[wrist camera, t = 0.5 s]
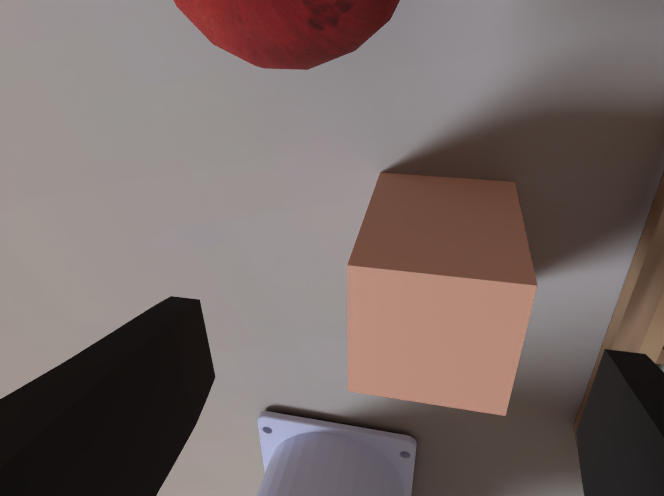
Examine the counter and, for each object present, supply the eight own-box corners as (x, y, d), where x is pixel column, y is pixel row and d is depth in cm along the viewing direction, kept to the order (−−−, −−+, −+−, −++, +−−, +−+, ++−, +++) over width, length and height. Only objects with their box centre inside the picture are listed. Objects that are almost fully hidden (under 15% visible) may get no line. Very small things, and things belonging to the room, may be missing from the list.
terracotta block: (494, 290, 19) (505, 416, 14) (376, 277, 20) (347, 391, 15) (514, 181, 16) (537, 285, 12) (380, 172, 17) (347, 265, 12)
